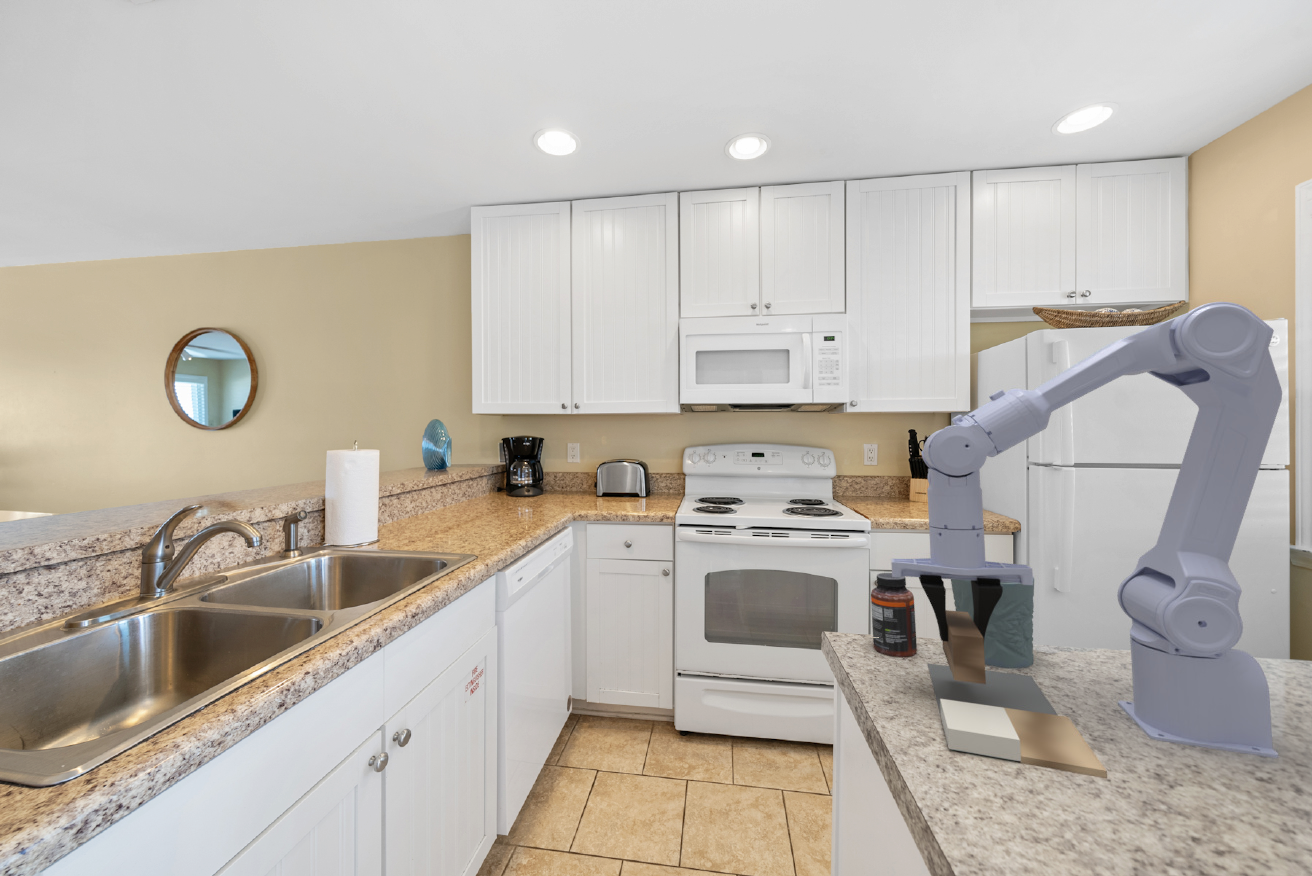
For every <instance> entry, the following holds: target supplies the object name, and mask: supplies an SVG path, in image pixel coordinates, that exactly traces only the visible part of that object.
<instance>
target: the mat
mask: <svg viewBox="0 0 1312 876" xmlns="http://www.w3.org/2000/svg"><path fill="white" fill-rule="evenodd" d="M926 665H927V668H928V671H929V675H930V680H931V683H932V687H933V693H934V696H935V700H936V704H937V708H938V712H939V716H940V720H941V725H942V729H943V733H944V736H945V740H946V745H947V746H948V743H947V739H946V735H945V731H944V727H943V723H942V719H941V708H940V699H946V700H953V701H960V702H967V703H974V704H981V705H988V706H995V707H1003V708H1010V709H1017V710H1024V711H1031V712H1038V713H1045V714H1052V715H1059V714H1058V712H1057V711H1056V710H1055V708H1054V707H1053V705H1052V704H1051V703H1050V701H1049V700H1048V699H1047V697H1046V695H1045V694H1044V693H1043V691H1042V689H1041V688H1040V687H1039V685H1038V684H1037V682H1036V681H1035V679H1034V678H1033V676H1032V675H1028V674H1020V673H1019V674H1017V673H1011V672H1005V671H1004V672H1003V671H995V670H987V669H985V677H986V684H980V683H972V682H964V681H956V680H954V678H953V675H952V672H951V670H950V667H949V665H944V664H936V663H927V664H926Z"/></svg>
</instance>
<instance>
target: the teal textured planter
mask: <svg viewBox="0 0 1312 876" xmlns="http://www.w3.org/2000/svg"><path fill="white" fill-rule="evenodd" d="M950 582H951V583H950V585H951V589H952V594H953V600H954V603H953V604H954V607H955V611H961V612H968V613H969V615H970V617H971V618H972V620H973V615H974V608H973V597H972V587H971V580H958V579H950ZM1000 584H1001V586H1002V587H1003V593H1002V596H1001V598H1000V599H999V601H998V603H997V604H996V606H995V608H994V610H993V612H992V614H991V617H990V619H989V622H988V625H987V629H986V633H985V639H984V658H985V666H991V667H994V668H995V667H996V668H1002V669H1014V670H1015V669H1024V668H1028V667H1029V668H1030V667H1031V666H1032V665H1033V663H1034V643H1033V641H1034V637H1033V634H1034V629H1033V628H1034V622H1033V619H1034V615H1033V614H1034V612H1035V611H1034V596H1035V577H1033V585H1023V584H1021V583H1009V582H1000Z"/></svg>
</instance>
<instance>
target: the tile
mask: <svg viewBox="0 0 1312 876" xmlns="http://www.w3.org/2000/svg"><path fill="white" fill-rule="evenodd" d="M940 708H941V717H940V720H941V719H942V721H941V724H942V723H943V725H942V728H943V727H944V729H943V732H944V731H945V733H944V736H945V735H946V737H945V740H946V739H947V741H946V744H947V743H948V745H947V746H948V747H947V748H948V749H949V750H952V751H957V752H964V753H969V754H974V755H980V756H985V757H992V758H997V759H1004V760H1009V761H1015V762H1020V761H1021V753H1020V739H1019V737H1018V735H1017V733H1016V731H1015V729H1014V727H1013V725H1012V723H1011V721H1010V719H1009V717H1008V715H1007V713H1006V711H1005V709H1004V708H1002V707H995V706H988V705H981V704H974V703H967V702H960V701H953V700H946V699H940Z"/></svg>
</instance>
